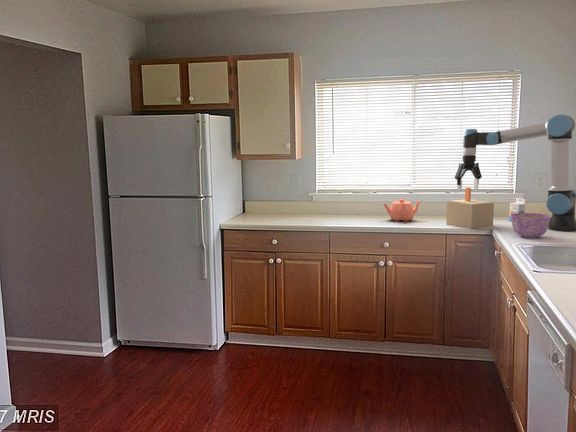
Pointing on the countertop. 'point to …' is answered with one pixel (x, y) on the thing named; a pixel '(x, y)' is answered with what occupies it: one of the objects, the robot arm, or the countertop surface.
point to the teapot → (402, 210)
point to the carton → (470, 214)
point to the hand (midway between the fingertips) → (467, 190)
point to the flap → (467, 197)
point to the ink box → (517, 207)
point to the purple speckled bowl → (530, 224)
